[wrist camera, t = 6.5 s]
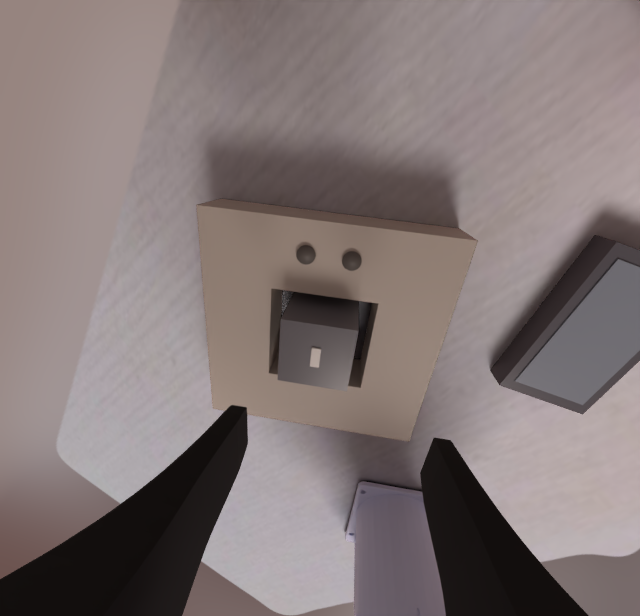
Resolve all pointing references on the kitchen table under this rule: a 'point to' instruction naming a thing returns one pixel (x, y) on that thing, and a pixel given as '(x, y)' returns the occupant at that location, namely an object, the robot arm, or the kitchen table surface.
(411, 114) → the kitchen table surface
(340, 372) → the block
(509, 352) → the phone
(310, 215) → the outlet plate
